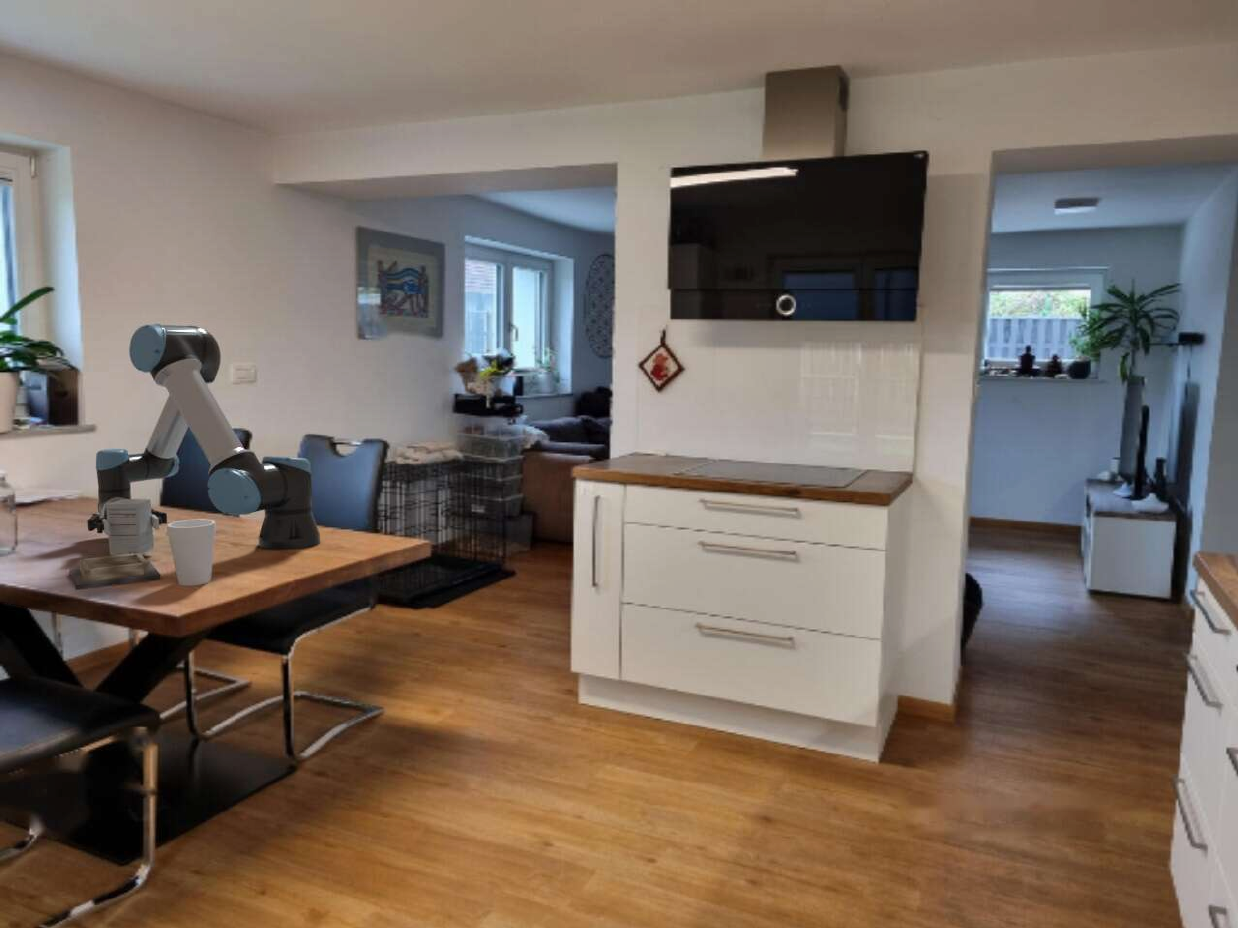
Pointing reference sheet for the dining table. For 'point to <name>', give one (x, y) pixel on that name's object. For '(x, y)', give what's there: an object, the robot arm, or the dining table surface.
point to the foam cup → (192, 550)
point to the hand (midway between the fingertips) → (132, 526)
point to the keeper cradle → (113, 571)
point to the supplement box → (130, 526)
